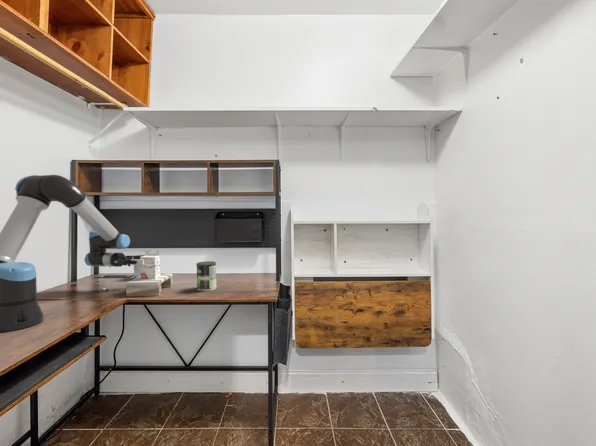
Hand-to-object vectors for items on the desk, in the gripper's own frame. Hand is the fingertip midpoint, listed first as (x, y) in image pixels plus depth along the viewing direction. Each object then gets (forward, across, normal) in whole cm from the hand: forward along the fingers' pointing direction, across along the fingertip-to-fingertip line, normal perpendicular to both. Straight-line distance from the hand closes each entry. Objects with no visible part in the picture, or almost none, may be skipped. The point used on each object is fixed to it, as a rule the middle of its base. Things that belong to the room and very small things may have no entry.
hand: (151, 260), depth 167 cm
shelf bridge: (-1, 0, -17) cm, 17 cm away
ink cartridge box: (-1, 0, -10) cm, 10 cm away
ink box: (-22, -26, -17) cm, 38 cm away
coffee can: (+27, -7, -17) cm, 33 cm away
